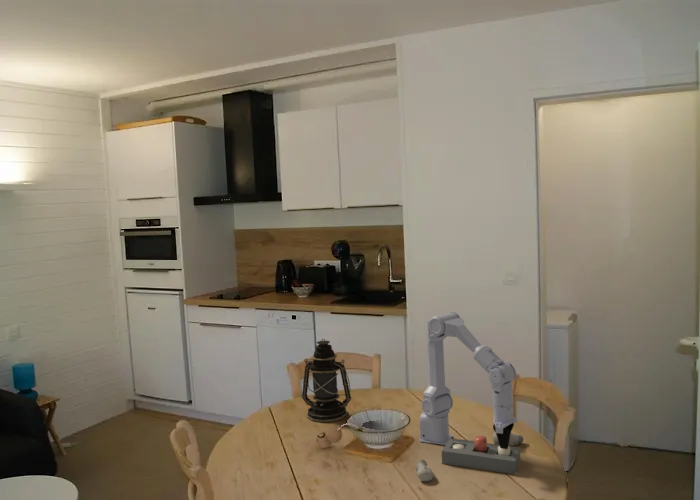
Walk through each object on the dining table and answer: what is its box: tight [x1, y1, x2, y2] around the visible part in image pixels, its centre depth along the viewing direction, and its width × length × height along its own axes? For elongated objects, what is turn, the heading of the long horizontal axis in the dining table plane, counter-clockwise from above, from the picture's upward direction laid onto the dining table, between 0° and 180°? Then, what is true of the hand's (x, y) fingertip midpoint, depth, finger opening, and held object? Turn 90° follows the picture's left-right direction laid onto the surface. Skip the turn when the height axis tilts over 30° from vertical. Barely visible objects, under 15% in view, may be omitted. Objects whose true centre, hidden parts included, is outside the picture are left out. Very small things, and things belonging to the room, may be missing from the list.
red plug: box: [474, 435, 488, 452], centre depth 177 cm, size 4×4×4 cm
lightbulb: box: [492, 431, 524, 446], centre depth 187 cm, size 6×6×11 cm
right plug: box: [498, 446, 510, 456], centre depth 174 cm, size 4×4×4 cm
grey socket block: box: [441, 438, 522, 475], centre depth 177 cm, size 22×10×4 cm, turn 65°
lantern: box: [301, 338, 352, 423], centre depth 222 cm, size 20×16×30 cm
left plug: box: [453, 444, 464, 450], centre depth 180 cm, size 4×4×4 cm
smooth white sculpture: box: [415, 459, 435, 483], centre depth 169 cm, size 4×8×5 cm
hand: (504, 447), depth 174 cm, fingers closed, pressing on right plug
